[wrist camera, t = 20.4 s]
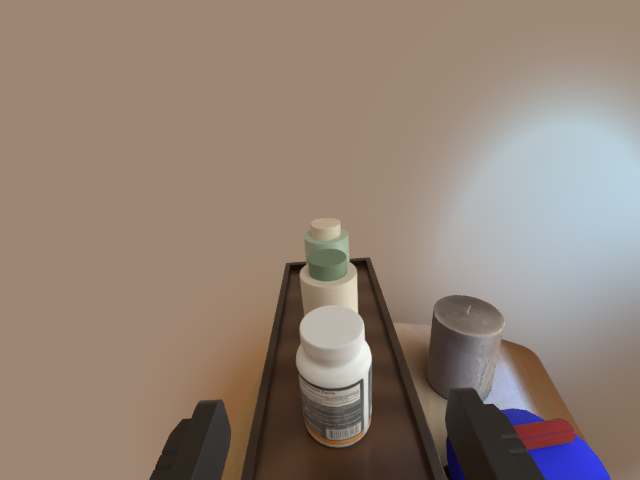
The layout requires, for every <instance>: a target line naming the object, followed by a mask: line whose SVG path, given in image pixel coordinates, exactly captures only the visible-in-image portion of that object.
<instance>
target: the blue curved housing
mask: <svg viewBox="0 0 640 480" xmlns="http://www.w3.org/2000/svg"><path fill="white" fill-rule="evenodd" d="M500 411H501V412H502V413H503V414H504V415H505V416H507V417H508V418H509V420H510V422H511V423H512V425H513V427H514V428H515V430H516V432H517V433H518V435H519V438H520V439H521V440H522V441H523V443H524V445H525V446H526V448H527V450H528V453H529V454H531V456H532V458H533V459H534V461H535V463H536V464H537V466H538V467H539V469H540V471H541V472H542V474H543V476H544V477H545V479H546V480H611V479H610V476H609V474H608V473H607V471H606V469H605V468H604V466H603V465H602V463H601V461H600V459H599V458H598V456H597V455H596V454H595V453H594V452H593V451H592V449H591V448H590V447H589V446H588V445H587V444H586V443H585V442H584V441H583V440H582V439H581V438H579V437H578V436H577V435H576V434H575V433H574V430H573V428H572V427H571V425H570V424H569V423H568V422H567V421H565V420H563V419H560V418H558V419H552V420H544V419H542V418H540V417H538V416H536V415H534V414H532V413H530V412H529V411H527V410H520V409H506V410H500ZM446 445H447V460H448V465H446V466H443V470H444V473H445V475H446V477H447V478H448V479H449V480H466V479H465V477H464V474H463V472H462V469H461V466H460V464H459V461H458V459H457V456H456V454H455V451H454V449H453V446H452V444H451V441H450V439H449V436H447V441H446Z"/></svg>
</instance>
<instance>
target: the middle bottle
mask: <svg viewBox="0 0 640 480" xmlns="http://www.w3.org/2000/svg"><path fill="white" fill-rule="evenodd" d="M300 283H301V292H302V300H303V309H304V317H305V316H306V315H307V314H308V313H309V312H311V311H312V310H314V309H317V308H319V307H323V306H328V305H337V306H344V307H347V308H350V309H352V310H354V311H355V312H357V313H358V292H357V269H356V267H355V266H354V265H353V264H352V263H350V262H348V261H347V256H346V254H345V253H344V252H343V251H341V250H337V249H321V250H317V251H315V252H313V253H311V254H310V255H309V256H308V264H307V265H305V266H304V267H303V268H302V269H301V271H300Z"/></svg>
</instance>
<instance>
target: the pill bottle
mask: <svg viewBox="0 0 640 480" xmlns="http://www.w3.org/2000/svg"><path fill="white" fill-rule="evenodd" d="M300 340H301V344H300V346H299V348H298V350H297V355H296V368H297V374H298V381H299V389H300V395H301V402H302V408H303V415H304V420H305V424H306V427H307V429H308V431H309V433H310V434H311V435H312V436H313V438H314V439H315V440H317V441H318V442H320V443H321V444H324V445H326V446H329V447H336V448H340V447H347V446H350V445H352V444H354V443H356V442H357V441H359V440H360V439H361V438H362V437H363V436H364V435H365V434H366V432H367V430H368V428H369V426H370V422H371V413H372V357H371V351H370V348H369V346H368V344H367V342H366V341H365V331H364V322H363V320H362V318H361V316H360V315H359V314H358V313H357V312H355V311H354V310H352V309H350V308H347V307H344V306H337V305H328V306H323V307H319V308H317V309H314V310H312V311H311V312H309V313H308V314H307V315H306V316H305V317H304V318H303V319H302V321H301V324H300Z"/></svg>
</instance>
